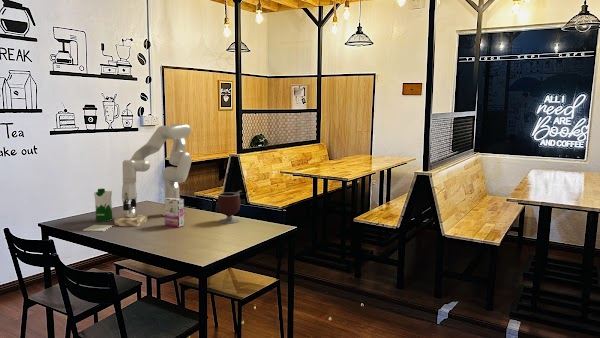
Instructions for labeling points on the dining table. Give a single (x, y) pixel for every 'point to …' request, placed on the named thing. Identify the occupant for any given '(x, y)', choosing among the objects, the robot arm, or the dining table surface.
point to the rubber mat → (98, 228)
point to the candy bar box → (174, 212)
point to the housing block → (130, 220)
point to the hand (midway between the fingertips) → (129, 208)
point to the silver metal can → (131, 212)
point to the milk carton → (103, 205)
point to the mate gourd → (229, 206)
